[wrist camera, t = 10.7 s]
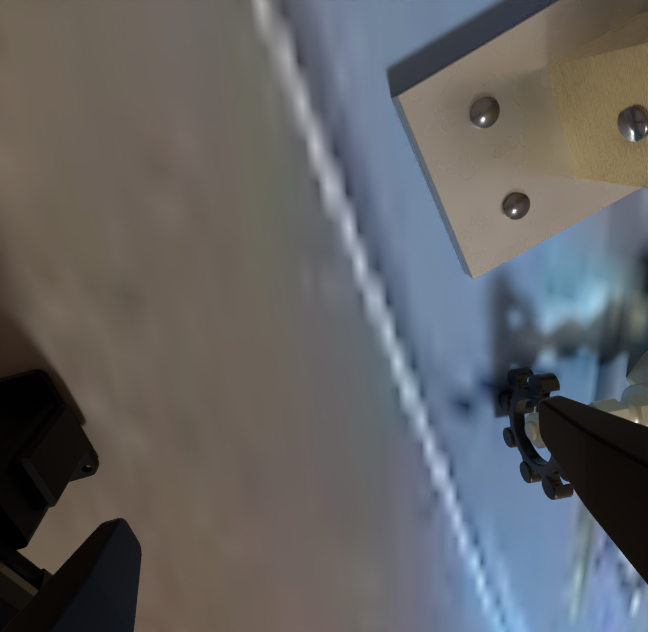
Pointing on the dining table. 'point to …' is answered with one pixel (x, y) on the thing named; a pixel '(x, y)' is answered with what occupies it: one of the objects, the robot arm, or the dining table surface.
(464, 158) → the fixed leaf
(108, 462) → the dining table surface
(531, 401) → the valve
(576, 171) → the loose leaf
